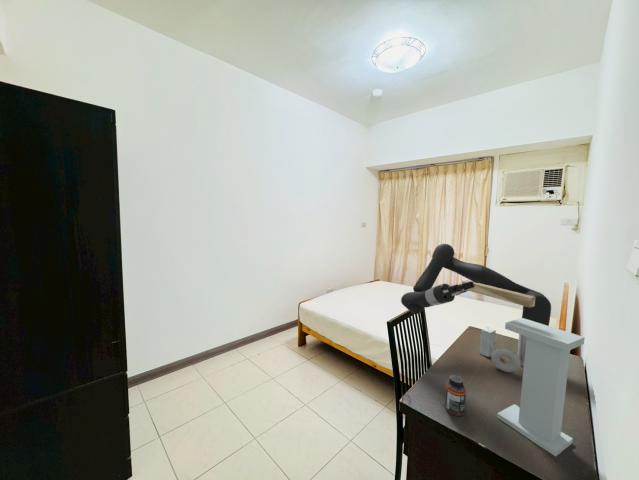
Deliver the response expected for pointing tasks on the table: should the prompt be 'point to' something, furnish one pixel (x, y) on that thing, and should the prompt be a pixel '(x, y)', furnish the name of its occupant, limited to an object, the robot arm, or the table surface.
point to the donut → (509, 354)
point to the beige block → (503, 294)
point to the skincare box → (487, 341)
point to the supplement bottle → (455, 396)
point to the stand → (542, 384)
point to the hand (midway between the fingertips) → (475, 283)
